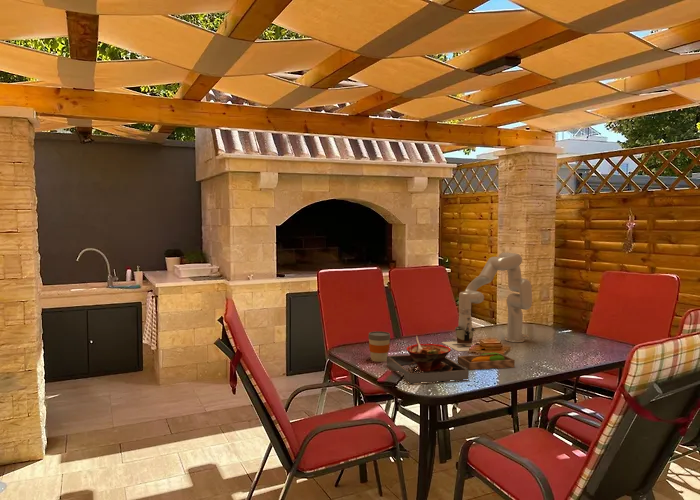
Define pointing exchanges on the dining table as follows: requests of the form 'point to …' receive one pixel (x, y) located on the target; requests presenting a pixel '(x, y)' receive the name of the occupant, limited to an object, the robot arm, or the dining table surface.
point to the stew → (429, 357)
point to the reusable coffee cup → (379, 345)
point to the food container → (461, 333)
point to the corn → (488, 357)
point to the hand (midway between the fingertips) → (464, 339)
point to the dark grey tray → (454, 374)
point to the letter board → (458, 346)
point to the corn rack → (484, 362)
